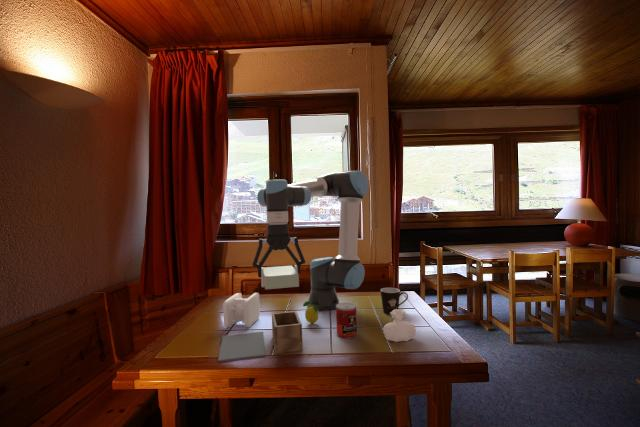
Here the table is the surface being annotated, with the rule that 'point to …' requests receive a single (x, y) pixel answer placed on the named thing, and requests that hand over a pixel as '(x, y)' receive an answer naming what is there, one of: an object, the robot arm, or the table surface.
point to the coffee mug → (391, 299)
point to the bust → (399, 328)
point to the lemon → (311, 312)
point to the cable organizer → (241, 310)
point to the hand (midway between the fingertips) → (279, 284)
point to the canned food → (346, 320)
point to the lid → (280, 277)
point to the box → (287, 332)
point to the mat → (242, 346)
